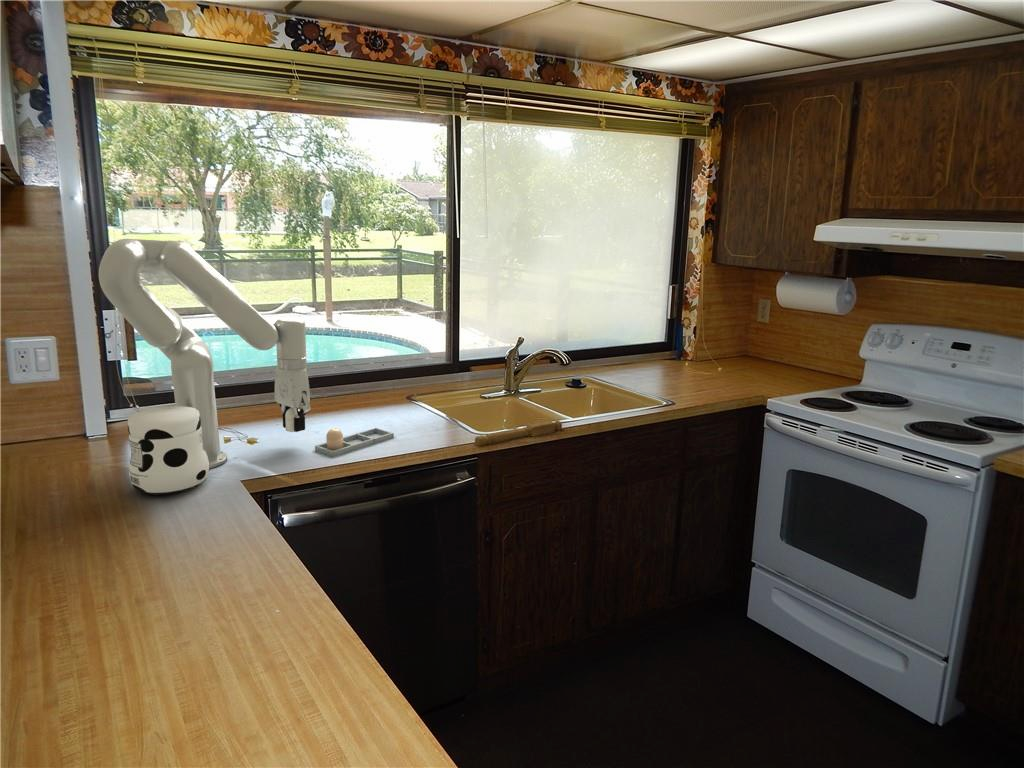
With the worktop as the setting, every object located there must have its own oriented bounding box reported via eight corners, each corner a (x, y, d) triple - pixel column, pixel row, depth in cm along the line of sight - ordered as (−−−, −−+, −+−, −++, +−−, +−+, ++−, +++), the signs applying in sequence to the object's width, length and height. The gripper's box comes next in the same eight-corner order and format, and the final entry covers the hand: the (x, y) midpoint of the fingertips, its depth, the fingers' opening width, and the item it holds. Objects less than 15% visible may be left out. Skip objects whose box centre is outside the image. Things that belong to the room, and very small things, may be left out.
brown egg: (333, 454, 194) (332, 432, 193) (323, 450, 197) (322, 428, 195) (346, 450, 197) (345, 428, 196) (336, 446, 200) (335, 425, 199)
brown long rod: (474, 435, 206) (558, 418, 222) (474, 445, 207) (557, 428, 223) (479, 437, 204) (564, 421, 220) (479, 448, 205) (563, 430, 221)
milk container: (221, 473, 182) (214, 404, 178) (194, 501, 166) (186, 426, 161) (151, 473, 182) (143, 404, 177) (117, 501, 165) (107, 426, 161)
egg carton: (332, 461, 191) (331, 453, 191) (311, 454, 197) (311, 446, 196) (397, 440, 209) (397, 432, 208) (376, 434, 214) (376, 426, 214)
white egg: (292, 432, 195) (291, 410, 193) (282, 429, 198) (281, 407, 196) (305, 429, 198) (305, 407, 197) (296, 426, 201) (295, 404, 199)
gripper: (261, 360, 196) (264, 425, 200) (298, 370, 186) (301, 438, 190) (285, 356, 201) (287, 419, 206) (322, 366, 191) (324, 432, 196)
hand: (294, 428), depth 198 cm, fingers closed on white egg, 4 cm apart
